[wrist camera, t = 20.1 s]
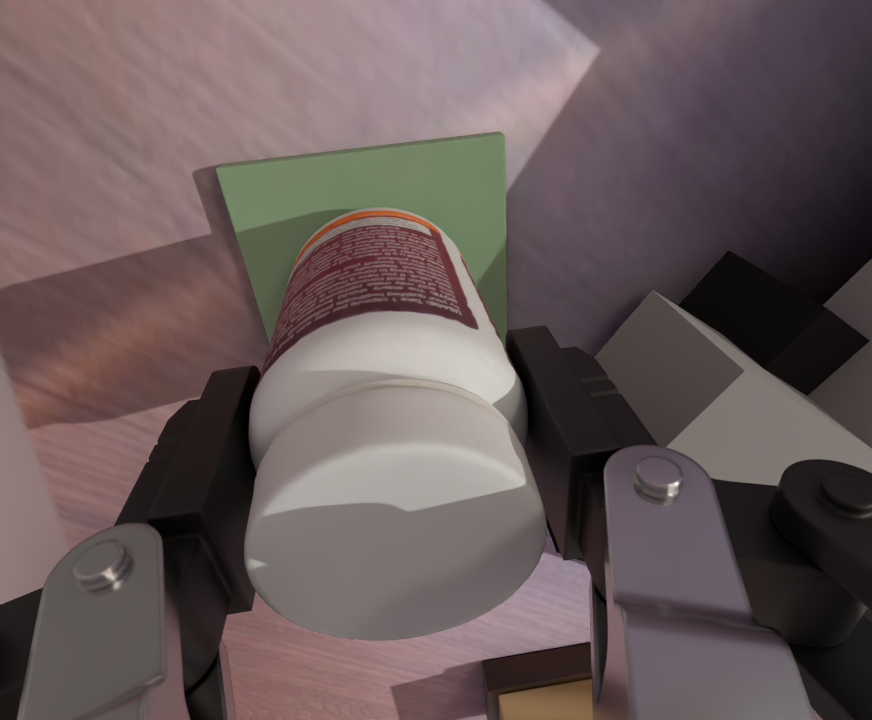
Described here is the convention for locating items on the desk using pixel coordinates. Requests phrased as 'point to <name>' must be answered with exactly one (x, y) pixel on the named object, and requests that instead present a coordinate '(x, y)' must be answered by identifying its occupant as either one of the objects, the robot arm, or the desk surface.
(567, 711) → the scrub brush
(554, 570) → the desk surface
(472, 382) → the pill bottle
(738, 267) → the game console
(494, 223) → the green square plate
